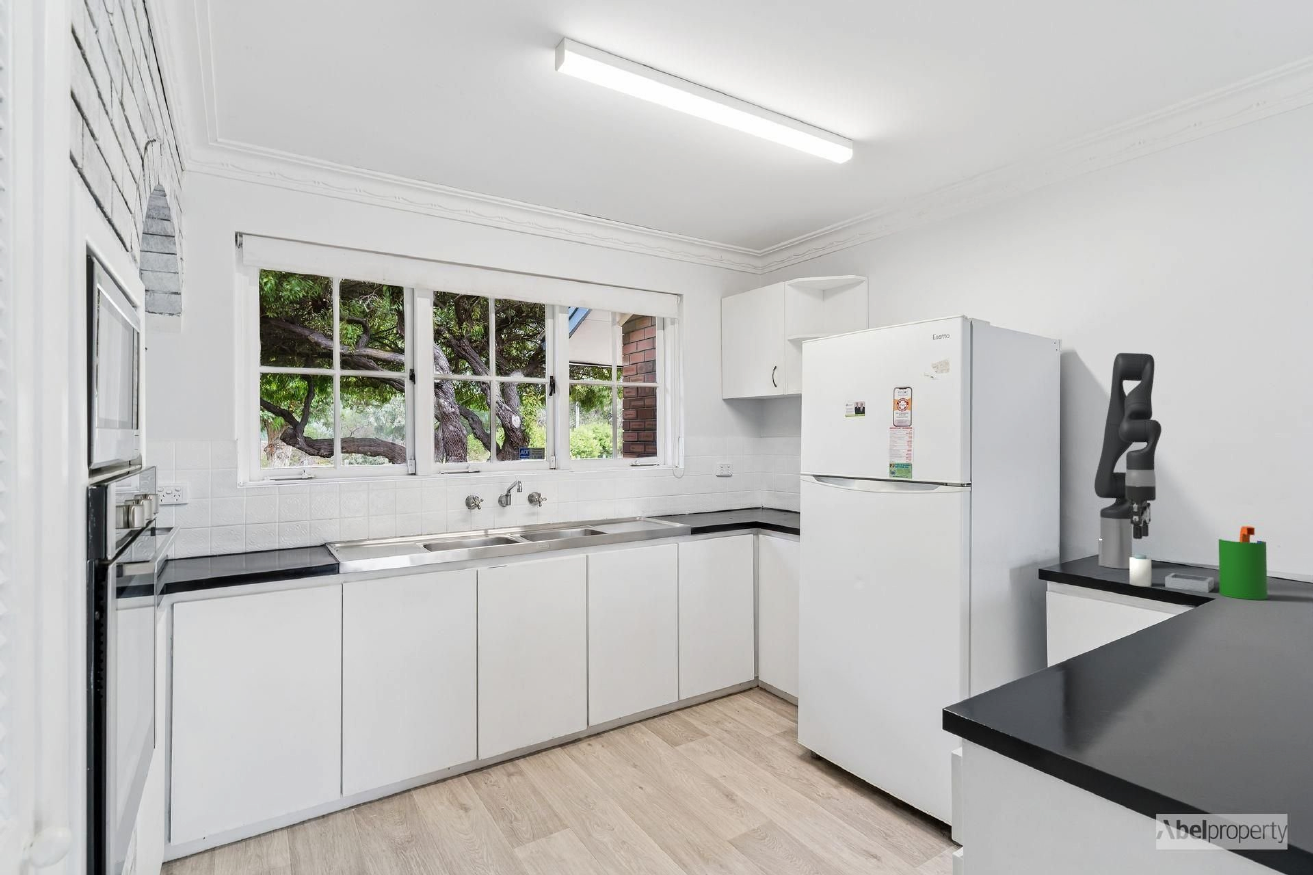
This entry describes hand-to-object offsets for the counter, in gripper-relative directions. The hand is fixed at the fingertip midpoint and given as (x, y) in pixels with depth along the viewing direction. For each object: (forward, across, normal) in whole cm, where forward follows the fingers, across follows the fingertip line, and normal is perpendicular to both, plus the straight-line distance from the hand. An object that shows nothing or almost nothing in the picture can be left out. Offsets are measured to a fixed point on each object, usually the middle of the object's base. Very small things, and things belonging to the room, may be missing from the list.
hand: (1140, 537), depth 205 cm
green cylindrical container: (+15, -2, +24) cm, 28 cm away
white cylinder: (+14, 0, 0) cm, 14 cm away
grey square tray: (+14, -6, +11) cm, 19 cm away
